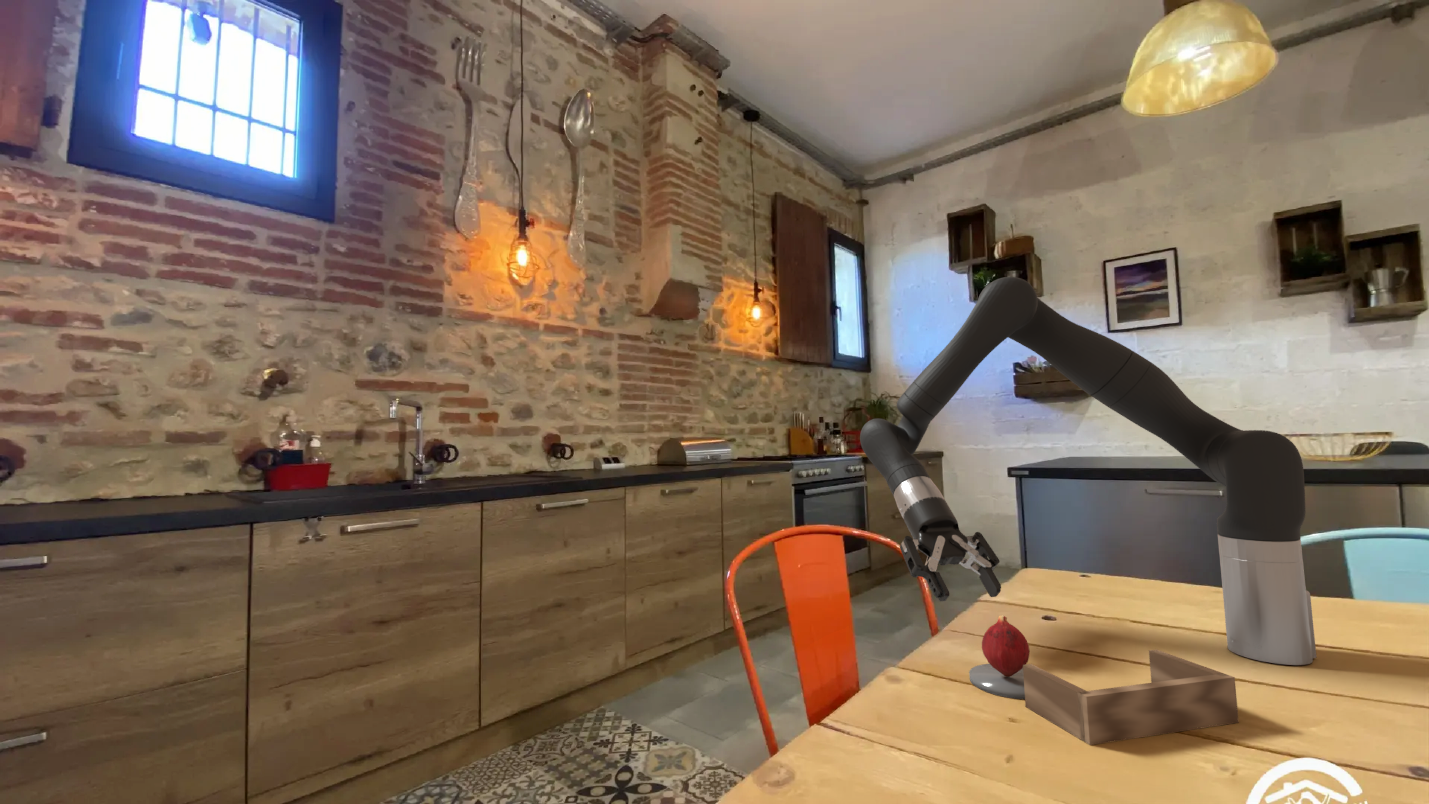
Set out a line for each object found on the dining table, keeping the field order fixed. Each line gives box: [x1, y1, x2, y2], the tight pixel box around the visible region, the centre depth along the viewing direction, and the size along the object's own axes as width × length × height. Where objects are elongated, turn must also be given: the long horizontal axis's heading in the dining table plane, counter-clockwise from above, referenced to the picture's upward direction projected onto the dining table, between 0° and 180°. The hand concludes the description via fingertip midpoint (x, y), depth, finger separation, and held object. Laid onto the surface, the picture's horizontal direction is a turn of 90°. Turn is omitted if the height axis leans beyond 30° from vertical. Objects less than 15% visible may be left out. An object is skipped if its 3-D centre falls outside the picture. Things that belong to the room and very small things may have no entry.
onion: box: [981, 614, 1030, 677], centre depth 80 cm, size 6×6×8 cm
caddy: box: [1023, 649, 1240, 746], centre depth 70 cm, size 20×10×5 cm, turn 102°
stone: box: [968, 663, 1025, 700], centre depth 80 cm, size 10×10×1 cm
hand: (971, 596), depth 87 cm, fingers open, 8 cm apart
